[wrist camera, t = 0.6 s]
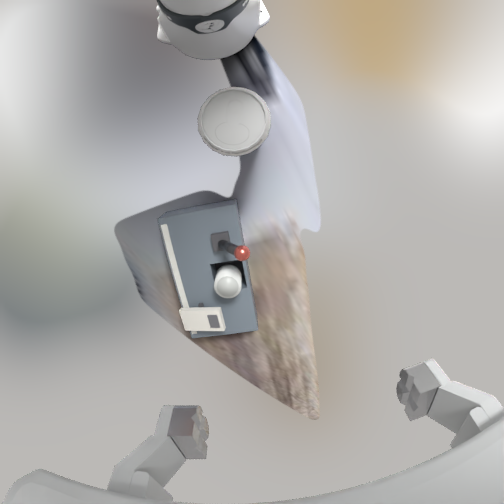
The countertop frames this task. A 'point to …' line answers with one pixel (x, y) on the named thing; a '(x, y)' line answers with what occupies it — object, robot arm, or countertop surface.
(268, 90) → the countertop surface
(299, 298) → the countertop surface
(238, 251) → the lever
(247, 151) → the supplement can
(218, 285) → the button
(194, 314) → the rocker
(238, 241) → the console
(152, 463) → the robot arm
